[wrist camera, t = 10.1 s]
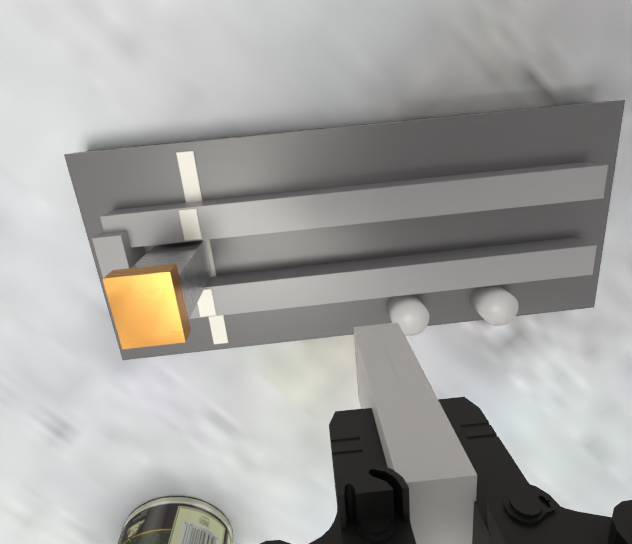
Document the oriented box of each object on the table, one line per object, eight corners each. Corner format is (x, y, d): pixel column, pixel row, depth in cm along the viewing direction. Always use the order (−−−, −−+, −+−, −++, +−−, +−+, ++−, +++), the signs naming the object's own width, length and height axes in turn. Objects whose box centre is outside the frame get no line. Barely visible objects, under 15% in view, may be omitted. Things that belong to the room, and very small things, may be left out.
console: (591, 102, 29) (666, 97, 23) (567, 291, 33) (625, 325, 28) (86, 151, 28) (35, 158, 22) (137, 339, 32) (105, 385, 27)
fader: (203, 228, 27) (169, 271, 19) (213, 281, 28) (185, 342, 20) (156, 233, 26) (102, 278, 19) (168, 286, 28) (122, 349, 20)
